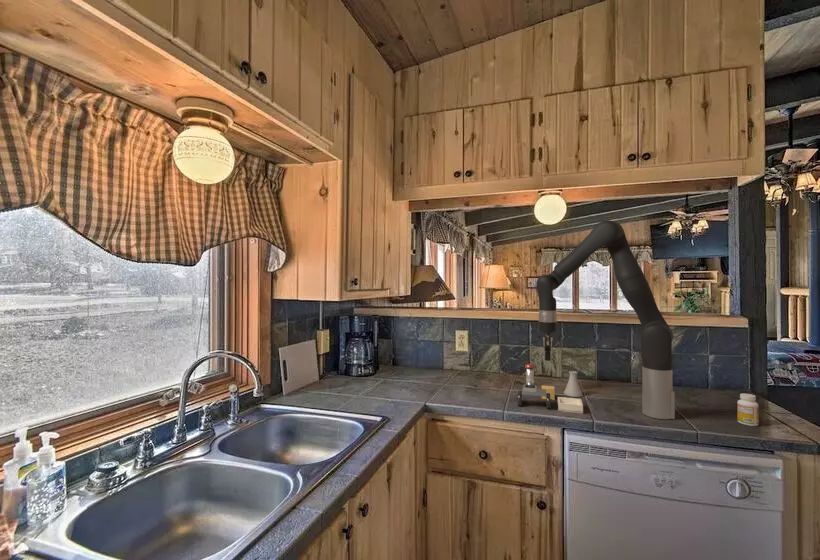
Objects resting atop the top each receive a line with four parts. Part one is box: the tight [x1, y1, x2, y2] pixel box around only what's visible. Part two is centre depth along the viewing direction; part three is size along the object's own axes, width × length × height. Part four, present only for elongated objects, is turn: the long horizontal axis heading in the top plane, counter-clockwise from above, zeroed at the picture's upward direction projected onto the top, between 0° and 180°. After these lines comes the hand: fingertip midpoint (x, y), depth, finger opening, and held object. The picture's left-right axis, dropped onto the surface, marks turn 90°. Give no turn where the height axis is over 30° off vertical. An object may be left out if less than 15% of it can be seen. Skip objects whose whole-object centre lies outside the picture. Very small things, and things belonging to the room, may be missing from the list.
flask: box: [563, 370, 584, 398], centre depth 162 cm, size 7×7×10 cm
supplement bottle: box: [736, 393, 760, 427], centre depth 130 cm, size 5×5×10 cm
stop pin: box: [524, 363, 536, 388], centre depth 149 cm, size 4×4×10 cm
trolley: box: [517, 383, 552, 410], centre depth 149 cm, size 12×8×7 cm, turn 71°
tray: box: [557, 396, 584, 414], centre depth 144 cm, size 8×8×3 cm
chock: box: [541, 385, 556, 401], centre depth 158 cm, size 5×4×4 cm
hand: (547, 360), depth 165 cm, fingers closed
